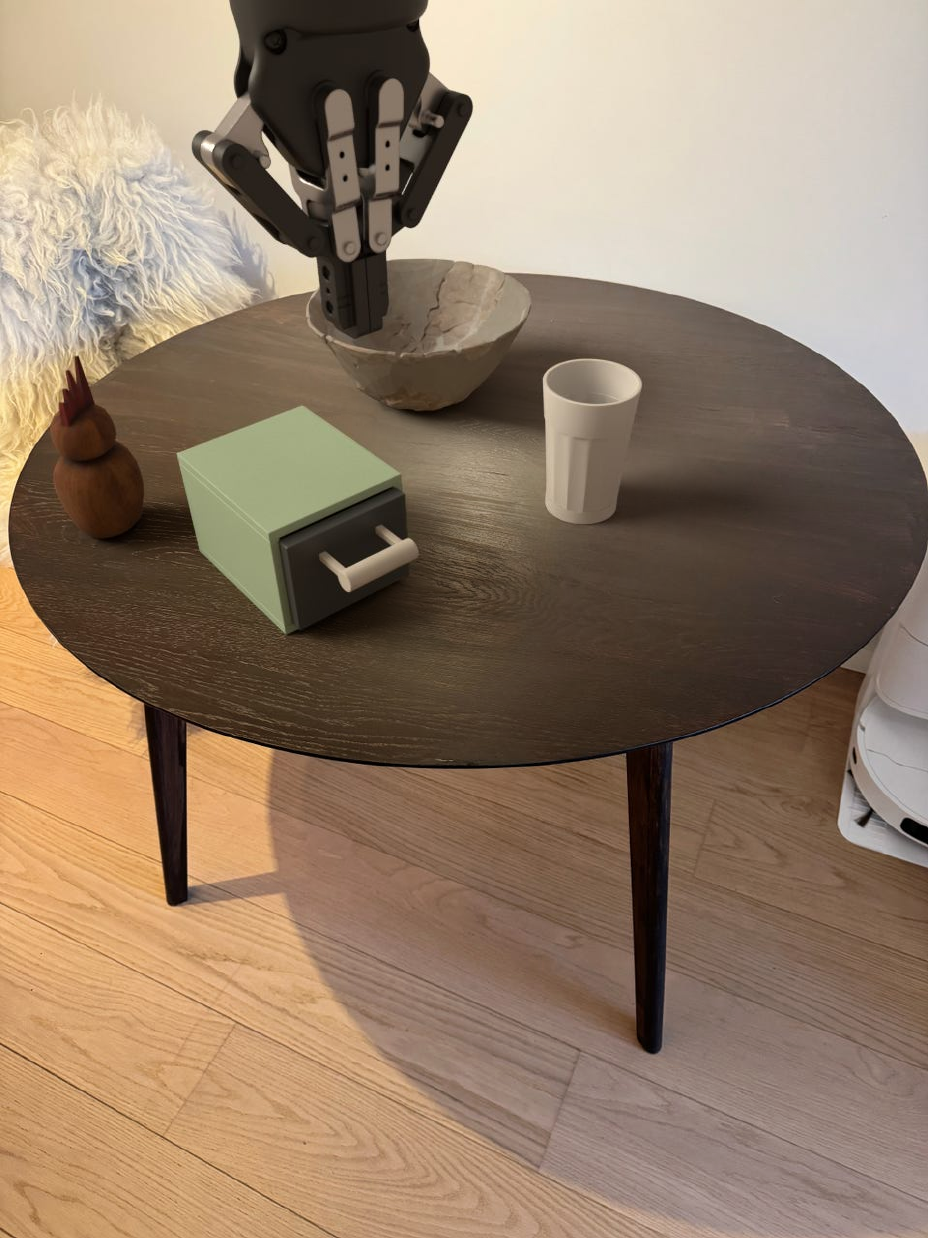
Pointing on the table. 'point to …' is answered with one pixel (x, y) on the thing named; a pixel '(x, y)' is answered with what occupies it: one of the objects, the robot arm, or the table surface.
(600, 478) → the cup
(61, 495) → the wooden figurine
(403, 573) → the fryer drawer
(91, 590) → the table surface
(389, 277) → the ceramic bowl
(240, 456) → the green drawer cabinet
